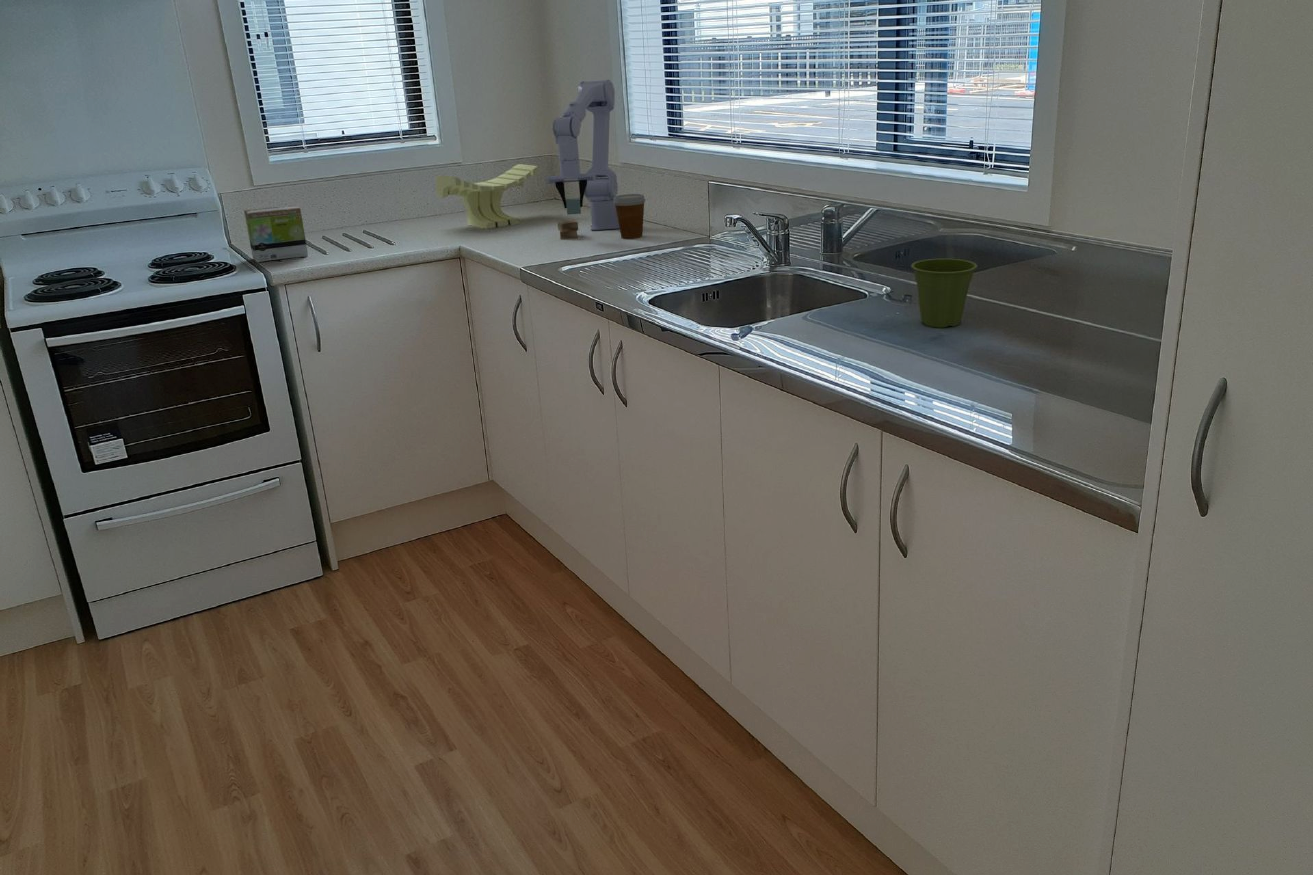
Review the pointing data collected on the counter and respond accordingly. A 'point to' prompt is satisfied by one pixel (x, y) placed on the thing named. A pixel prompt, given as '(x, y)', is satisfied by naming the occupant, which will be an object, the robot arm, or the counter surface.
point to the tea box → (276, 233)
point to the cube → (573, 206)
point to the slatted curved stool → (485, 195)
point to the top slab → (567, 225)
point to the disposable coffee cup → (630, 215)
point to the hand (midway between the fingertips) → (573, 207)
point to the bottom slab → (568, 234)
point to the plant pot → (942, 290)
